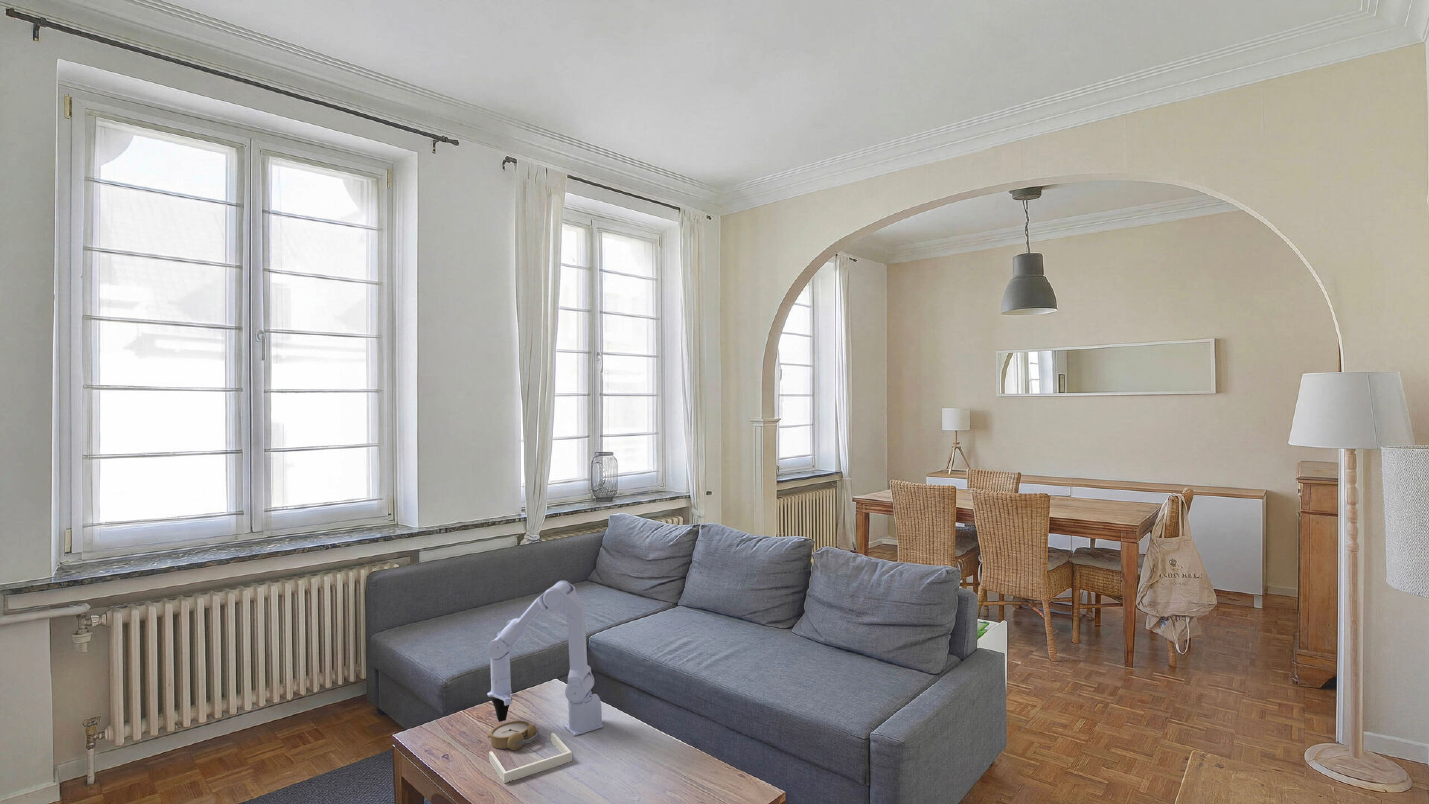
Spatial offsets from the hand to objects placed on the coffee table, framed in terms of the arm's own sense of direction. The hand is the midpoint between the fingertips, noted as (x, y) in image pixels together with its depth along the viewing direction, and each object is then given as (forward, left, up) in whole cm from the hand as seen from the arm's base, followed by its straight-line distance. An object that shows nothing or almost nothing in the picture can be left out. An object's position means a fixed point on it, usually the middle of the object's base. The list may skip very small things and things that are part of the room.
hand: (502, 720), depth 213 cm
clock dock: (0, +27, -1) cm, 27 cm away
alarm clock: (0, +13, -2) cm, 13 cm away
